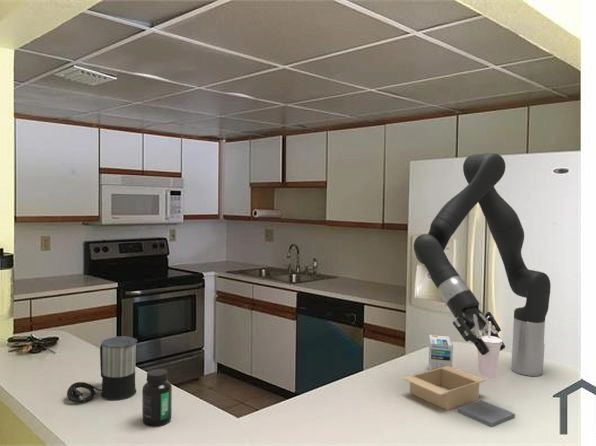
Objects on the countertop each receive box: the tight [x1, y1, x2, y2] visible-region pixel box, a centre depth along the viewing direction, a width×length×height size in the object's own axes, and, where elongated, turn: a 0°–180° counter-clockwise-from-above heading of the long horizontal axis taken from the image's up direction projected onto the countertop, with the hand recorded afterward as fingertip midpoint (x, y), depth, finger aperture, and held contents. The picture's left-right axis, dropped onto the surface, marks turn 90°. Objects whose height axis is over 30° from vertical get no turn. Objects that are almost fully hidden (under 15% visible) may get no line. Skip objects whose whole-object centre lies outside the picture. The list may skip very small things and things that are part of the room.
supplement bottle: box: [141, 368, 173, 428], centre depth 119 cm, size 7×7×12 cm
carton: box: [402, 366, 487, 411], centre depth 138 cm, size 20×13×5 cm
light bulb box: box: [428, 334, 454, 371], centre depth 156 cm, size 11×7×11 cm, turn 168°
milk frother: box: [66, 336, 138, 404], centre depth 132 cm, size 14×16×15 cm
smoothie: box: [477, 321, 503, 379], centre depth 126 cm, size 6×6×14 cm
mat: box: [456, 399, 516, 428], centre depth 127 cm, size 10×10×1 cm
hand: (494, 351), depth 125 cm, fingers closed on smoothie, 6 cm apart
